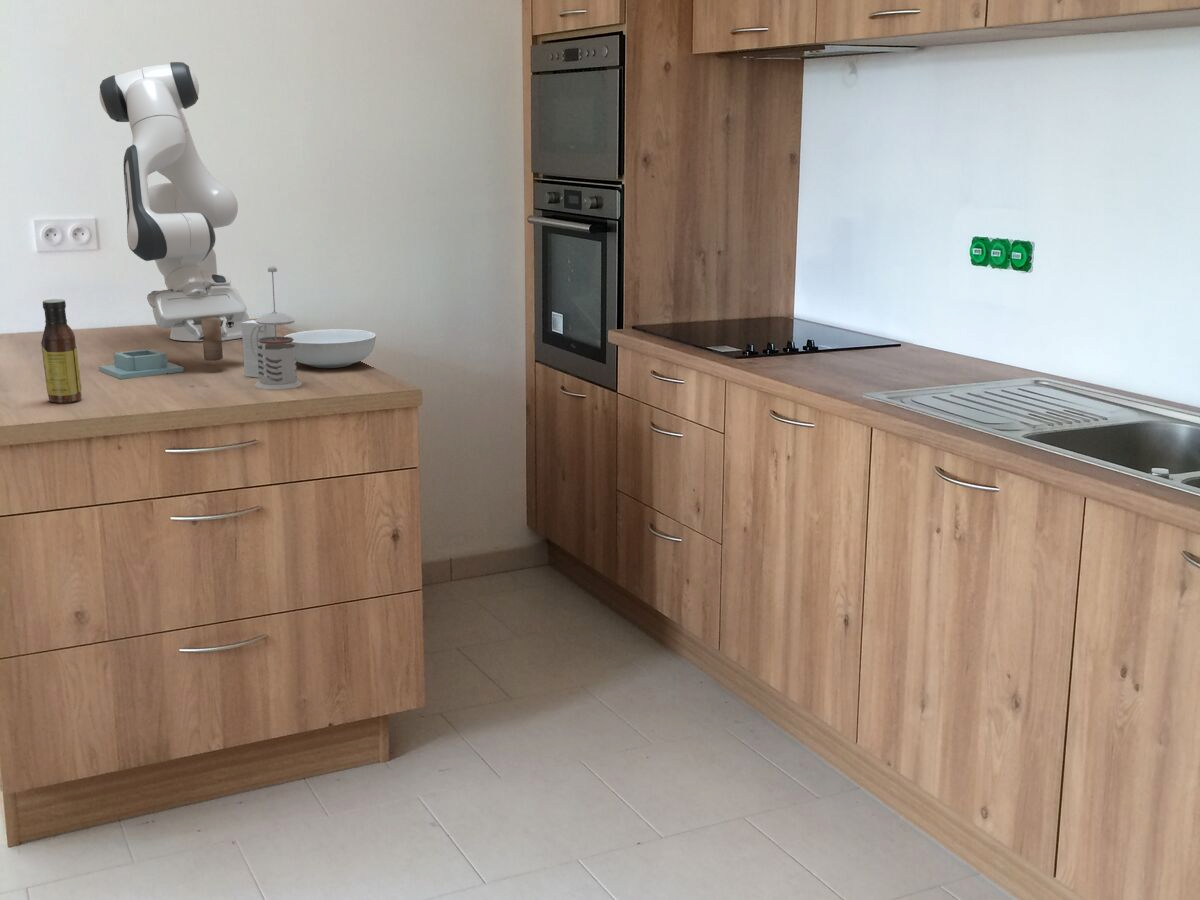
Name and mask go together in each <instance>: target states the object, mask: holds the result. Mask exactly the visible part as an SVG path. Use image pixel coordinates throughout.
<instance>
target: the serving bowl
mask: <svg viewBox="0 0 1200 900" xmlns="http://www.w3.org/2000/svg"><path fill="white" fill-rule="evenodd" d="M283 337H288V338H289V337H291V338H293V339H294V340H293V341H292V342H290V343H285V344H292V345H295V349H296V357H295V359H296V362H298V363H300V364H303V365H306V366H307V365H308V366H311V367H314V368H320V369H335V368H336V369H337V368H344V367H348V366H351V365H352V364H355V363H360V362H361V361H363V360H365V359H366V358H367V357H368V356H370V354H371V353H372V352H373V349H374V348H375V345H376V339H377V335H376V333H375V332H373V331H369V330H365V329H364V330H362V329H351V328H350V329H349V328H348V329H347V328H345V329H344V328H329V329H326V328H325V329H313V330H311V329H310V330H304V331H298V332H293V333H289V334H286V335H284V336H283ZM285 349H287V348H285Z"/></svg>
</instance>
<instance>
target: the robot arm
mask: <svg viewBox="0 0 1200 900" xmlns="http://www.w3.org/2000/svg"><path fill="white" fill-rule="evenodd" d="M199 84H200V83H199V81H198V78H197V76H196V74H195V73H194V71H193V70H192V69H191V68H190V66H189V64H186V63H185V62H182V61H178V62H177V61H171V62H169V63H165V64H155V65H149V66H144V67H143V66H142V67H141V68H138V69H134V70H129V71H127V72H122V73H121V74H118V75H114V74H113V75H110V76H108V77H106V78H104V79H102V81H101V83H100V85H99V93H98V94H99V101H100V105H101V107H102V109H103V111H104V112H105V113H106V114H107V116H108V117H109V118H110V119H111V120H113V121H115V122H117V123H129V126H130V131H131V135H132V143H131V146H128V147H127V149H126V150H125V153H124V156H123V181H124V191H125V204H126V214H127V215H126V216H127V219H126V221H127V223H126V224H127V225H126V236H127V239H126V240H127V243H128V247H129V250H130V251H131V252H132V253H133V254H134V255H136V256H137V257H139V258H140V259H141V260H143V261H145V262H149V261H150V262H151V261H155V265H156V266H157V269H158V271H159V273H160V274H161V275H163V278H164V284H165V286H166V289H163V290H152V291H151V292H150V293H148V295H146V296H147V297H146V299H147V301H148V304H149V306H150V307H151V308H152V312H153V317H154V320H155V322H156V323H155V324H156V325H157V327H159V328H160V329H163V330H164V329H170V332H169V333H170V334H169V337H168V338H169V339H170V340H174V341H184V342H203V338H204V333H203V331H202V323H201V319H202V318H208V317H217V318H220V323H221V338H222V342H223V341H230V340H236V339H243V337H242V324H241V323H242V322H246V321H250V317H249V315H248V313H247V307H246V304H245V302H244V300H243V298H242V296H241V295H240V293H239V292H238V290H237V289H236V288H235V287H233V286H232V285H231V283H232V282H231V278H230V277H229V276H227V275H223V274H218V269H217V268H218V267H217V255H216V251H215V250H214V249H213V248H214V247H215V245H216V241H217V239H216V234H215V233H216V232H215V229H218V228H223V227H228V226H230V225H231V224H232V223H234V221H235V220H236V218H237V216H238V210H239V204H238V201H237V197H236V195H235V193H234V192H233V191H232V190H231V189H229V188H228V187H226V186H225V185H223V184H222V183H221V182H220V181H218V180H217V179H216V178H215V177H214V175H213V174H212V173H211V172H210V171H209V170H208V168H207V167H206V165H205V164H204V163H203V160H201V158H200V155H199V153H198V151H197V149H196V145H195V142H194V140H193V137H192V135H191V132H190V128H189V126H188V122H187V119H186V117H185V115H184V112H183V109H185V110H186V109H189V108H191V107H193V106H194V105H196V103H197V102H198V100H199V93H200V85H199ZM155 172H157V173H158V174H160V175H162V176H164V177H165V178H166V179H168V180H169V182H164V183H159V184H155V185H151V186H149V185H148V182H149V181H148V176H150V175H151V174H153V173H155Z"/></svg>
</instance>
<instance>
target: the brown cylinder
mask: <svg viewBox="0 0 1200 900" xmlns="http://www.w3.org/2000/svg"><path fill="white" fill-rule="evenodd" d="M201 323H202V331H203V333H204V338H203V341H202V348H203V360H204V361H207V362H208V361H209V362H211V361H212V362H213V361H221V360H224V356H223V341H222V338H221V323H220V318H217V317H208V318H202V319H201Z"/></svg>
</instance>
